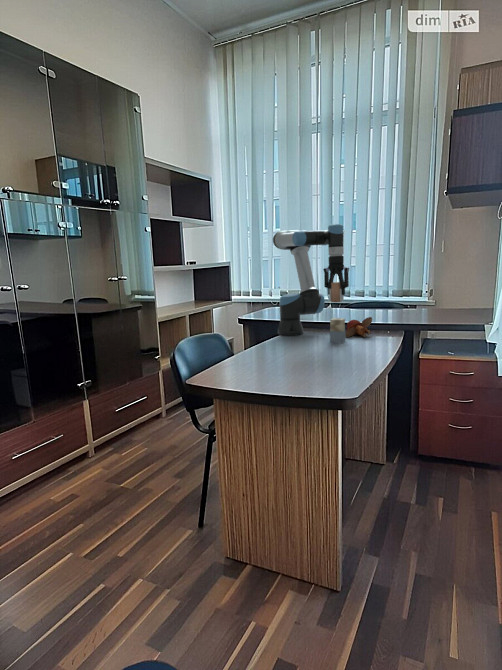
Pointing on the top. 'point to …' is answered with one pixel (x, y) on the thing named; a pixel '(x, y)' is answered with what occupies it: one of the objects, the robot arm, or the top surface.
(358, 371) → the top surface
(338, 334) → the cube bottom
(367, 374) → the top surface
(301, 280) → the robot arm
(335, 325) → the beige cube
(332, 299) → the tan rounded cylinder
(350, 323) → the figurine
